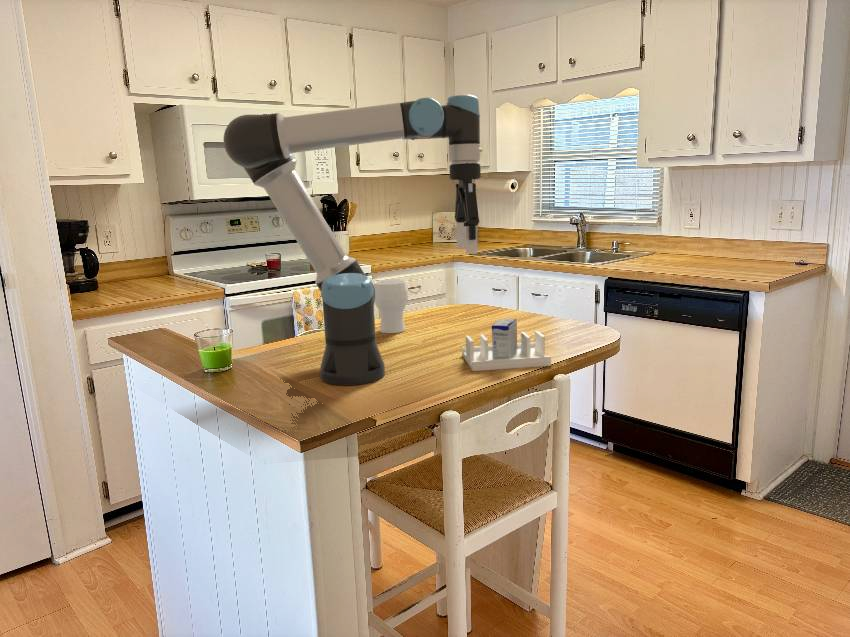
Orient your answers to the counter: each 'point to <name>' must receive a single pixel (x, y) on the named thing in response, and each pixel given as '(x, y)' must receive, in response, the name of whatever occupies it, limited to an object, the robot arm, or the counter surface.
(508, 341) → the box
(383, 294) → the cup
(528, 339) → the rack
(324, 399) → the counter surface
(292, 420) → the counter surface
